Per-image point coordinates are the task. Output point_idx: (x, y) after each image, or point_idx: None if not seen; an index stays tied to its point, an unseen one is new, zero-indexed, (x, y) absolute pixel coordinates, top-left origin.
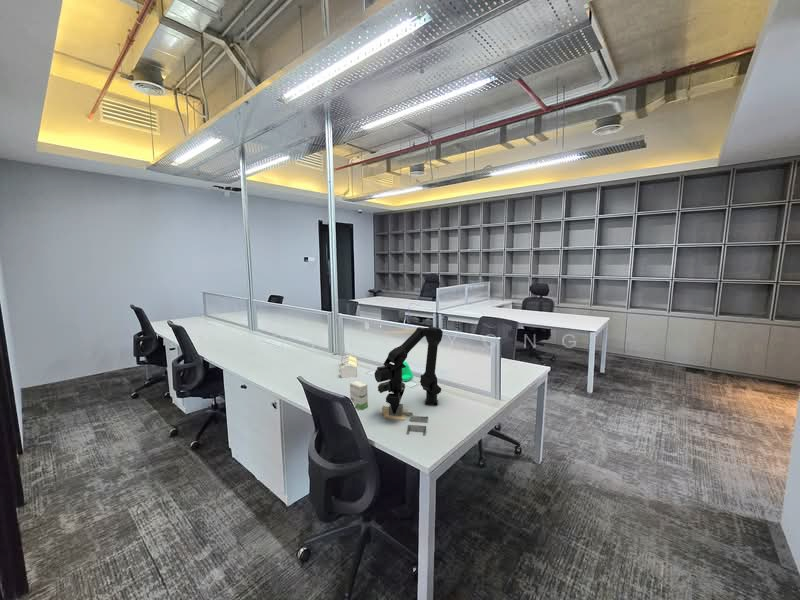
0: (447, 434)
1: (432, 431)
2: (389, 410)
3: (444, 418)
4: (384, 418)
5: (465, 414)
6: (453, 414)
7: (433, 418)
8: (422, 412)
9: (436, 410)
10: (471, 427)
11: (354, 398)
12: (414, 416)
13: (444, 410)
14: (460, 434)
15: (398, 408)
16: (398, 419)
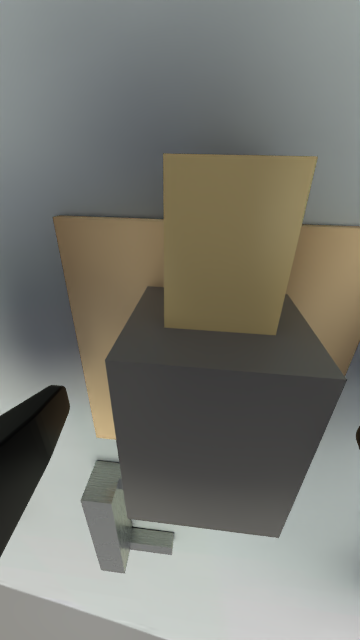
0: (27, 568)
1: (22, 536)
2: (126, 330)
3: (185, 584)
4: (61, 231)
5: (241, 632)
6: (238, 610)
7: (176, 555)
8: None
9: (293, 577)
10: (121, 620)
11: None
12: (104, 523)
13: (291, 598)
14: (50, 593)
15: (126, 481)
16: (91, 387)
